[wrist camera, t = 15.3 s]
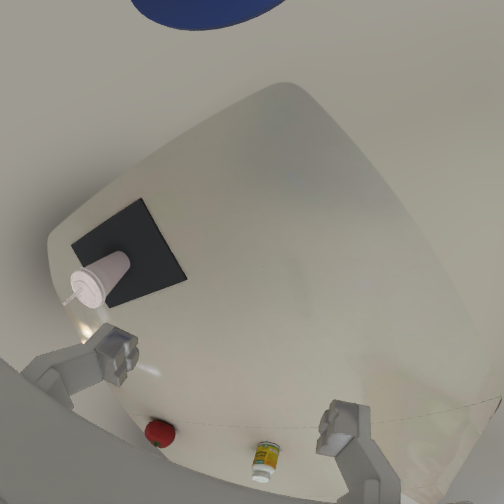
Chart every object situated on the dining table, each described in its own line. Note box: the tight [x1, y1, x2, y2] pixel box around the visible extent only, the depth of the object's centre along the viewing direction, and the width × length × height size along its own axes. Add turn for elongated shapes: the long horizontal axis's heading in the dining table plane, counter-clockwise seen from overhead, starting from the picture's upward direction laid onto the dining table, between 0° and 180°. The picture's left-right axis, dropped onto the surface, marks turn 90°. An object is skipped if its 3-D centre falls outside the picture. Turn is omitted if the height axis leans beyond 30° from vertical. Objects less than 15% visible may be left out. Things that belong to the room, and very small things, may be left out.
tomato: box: [145, 420, 175, 448], centre depth 66 cm, size 8×8×7 cm
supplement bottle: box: [252, 442, 280, 483], centre depth 58 cm, size 5×5×10 cm
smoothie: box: [63, 251, 130, 309], centre depth 42 cm, size 6×6×14 cm
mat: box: [71, 198, 187, 308], centre depth 48 cm, size 20×14×1 cm
